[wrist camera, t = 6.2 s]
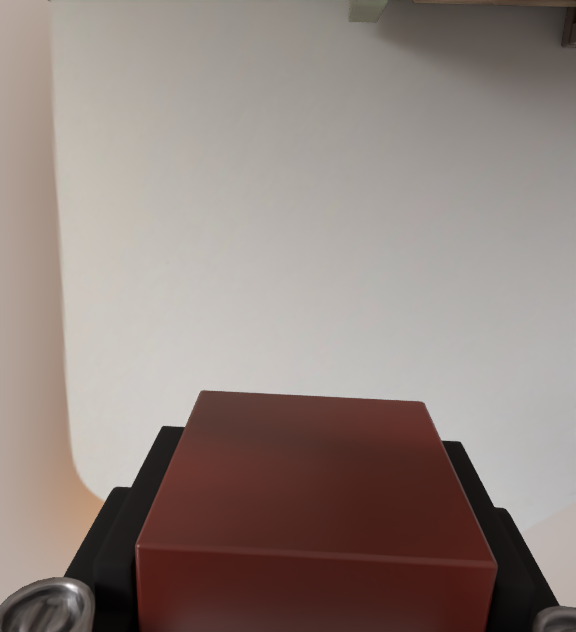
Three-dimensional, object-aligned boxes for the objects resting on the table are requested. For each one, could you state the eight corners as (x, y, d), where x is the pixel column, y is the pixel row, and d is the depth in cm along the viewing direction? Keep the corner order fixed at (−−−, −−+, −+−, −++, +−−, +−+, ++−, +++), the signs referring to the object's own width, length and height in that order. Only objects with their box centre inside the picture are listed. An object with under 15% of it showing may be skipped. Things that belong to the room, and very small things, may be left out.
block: (201, 570, 12) (146, 797, 8) (199, 388, 11) (132, 544, 7) (401, 581, 12) (452, 816, 8) (425, 399, 11) (500, 565, 7)
